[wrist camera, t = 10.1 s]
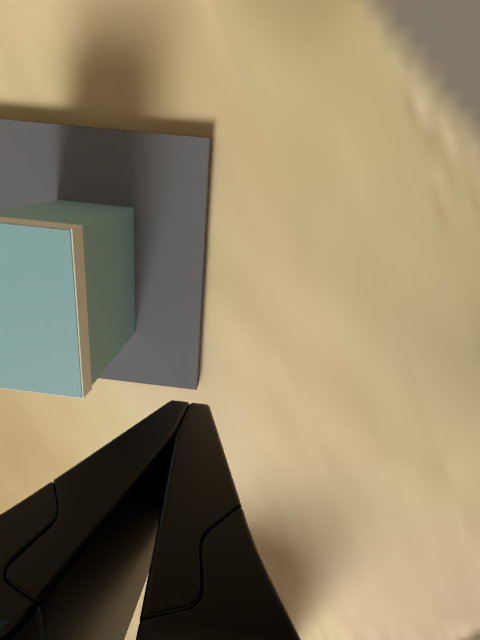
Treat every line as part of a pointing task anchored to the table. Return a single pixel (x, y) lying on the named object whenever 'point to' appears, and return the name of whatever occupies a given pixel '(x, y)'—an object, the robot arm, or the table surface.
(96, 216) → the pale teal block
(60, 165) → the mat
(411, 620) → the table surface
